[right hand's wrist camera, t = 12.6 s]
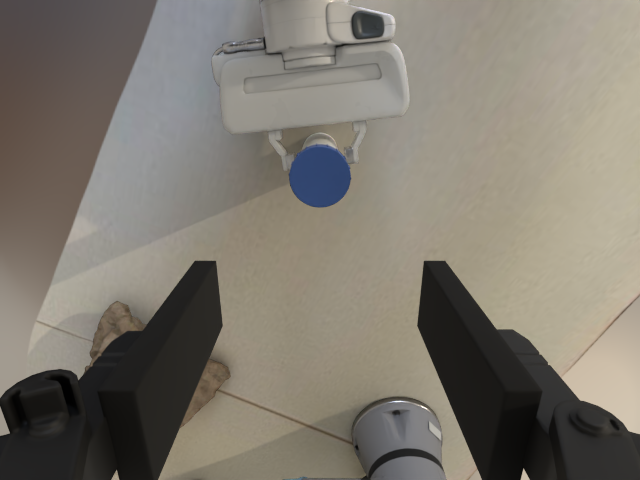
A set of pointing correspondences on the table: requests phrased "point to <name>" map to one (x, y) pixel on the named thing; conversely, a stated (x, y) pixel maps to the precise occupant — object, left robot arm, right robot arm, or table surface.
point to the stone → (121, 321)
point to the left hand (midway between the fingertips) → (320, 166)
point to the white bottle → (319, 140)
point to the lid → (319, 175)
